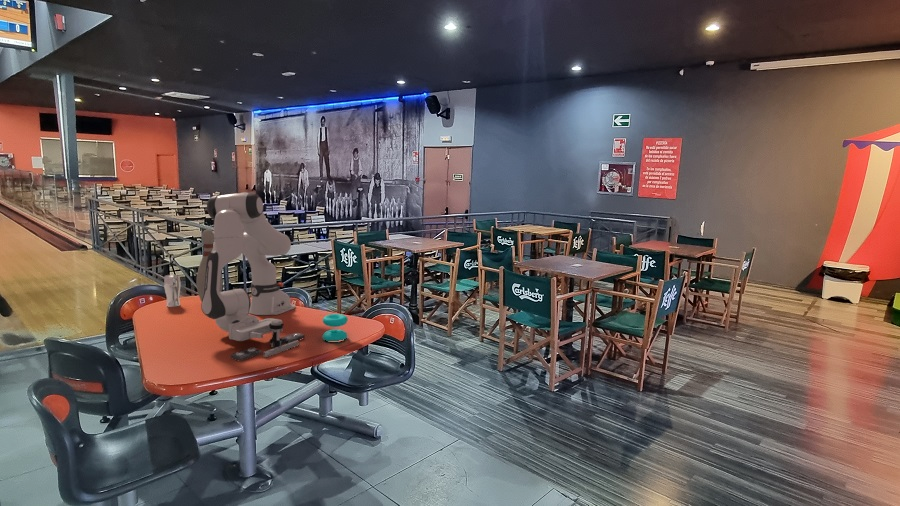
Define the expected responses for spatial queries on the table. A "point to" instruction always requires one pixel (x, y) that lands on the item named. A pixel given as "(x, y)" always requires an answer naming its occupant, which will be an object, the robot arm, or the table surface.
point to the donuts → (335, 321)
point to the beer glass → (172, 290)
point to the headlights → (289, 343)
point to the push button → (275, 333)
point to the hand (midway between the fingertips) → (271, 332)
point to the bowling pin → (205, 261)
